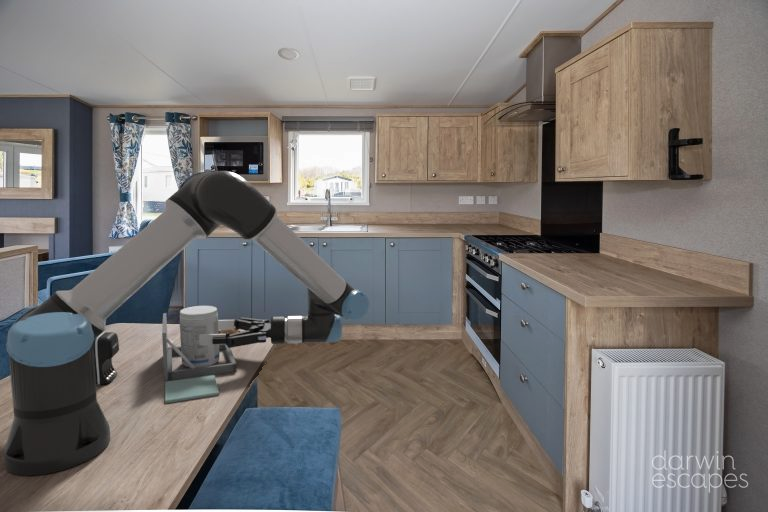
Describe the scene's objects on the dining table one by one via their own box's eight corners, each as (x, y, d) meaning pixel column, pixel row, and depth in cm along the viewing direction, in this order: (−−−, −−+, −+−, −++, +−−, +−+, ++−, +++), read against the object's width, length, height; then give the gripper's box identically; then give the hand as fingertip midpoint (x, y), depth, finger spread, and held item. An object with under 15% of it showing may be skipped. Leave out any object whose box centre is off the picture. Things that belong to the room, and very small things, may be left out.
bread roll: (214, 335, 148) (213, 324, 148) (241, 333, 151) (240, 322, 151) (214, 345, 138) (214, 333, 138) (243, 342, 141) (243, 331, 141)
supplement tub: (202, 354, 129) (201, 303, 127) (227, 360, 125) (226, 307, 123) (173, 365, 120) (171, 311, 119) (198, 371, 116) (196, 315, 114)
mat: (165, 403, 98) (165, 400, 98) (165, 384, 108) (165, 381, 108) (218, 394, 103) (218, 392, 103) (214, 377, 113) (214, 374, 113)
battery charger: (112, 385, 107) (109, 338, 106) (94, 386, 106) (91, 339, 105) (122, 373, 114) (119, 329, 112) (105, 374, 113) (102, 330, 112)
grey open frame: (164, 381, 110) (162, 333, 108) (165, 354, 128) (163, 313, 126) (236, 371, 117) (235, 326, 116) (227, 347, 135) (226, 308, 133)
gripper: (284, 358, 114) (194, 362, 110) (287, 330, 138) (214, 332, 135) (283, 329, 113) (193, 332, 109) (287, 306, 138) (213, 307, 134)
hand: (205, 332), depth 122 cm, fingers open, 13 cm apart
